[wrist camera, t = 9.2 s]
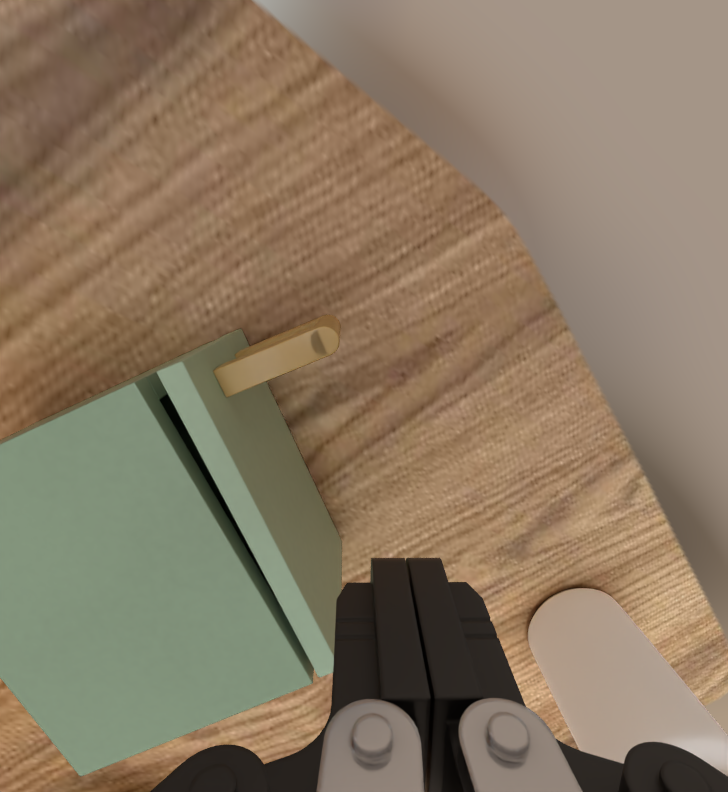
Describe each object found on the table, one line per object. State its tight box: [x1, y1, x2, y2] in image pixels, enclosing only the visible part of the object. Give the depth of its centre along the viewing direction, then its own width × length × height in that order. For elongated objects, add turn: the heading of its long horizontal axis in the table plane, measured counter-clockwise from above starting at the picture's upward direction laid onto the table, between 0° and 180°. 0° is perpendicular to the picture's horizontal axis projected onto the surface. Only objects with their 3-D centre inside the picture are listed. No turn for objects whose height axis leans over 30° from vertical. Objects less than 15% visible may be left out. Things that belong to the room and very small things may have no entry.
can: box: [528, 588, 728, 776], centre depth 26 cm, size 6×6×12 cm
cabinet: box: [0, 341, 314, 776], centre depth 23 cm, size 11×14×10 cm
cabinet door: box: [157, 315, 342, 677], centre depth 23 cm, size 6×14×10 cm, turn 22°
